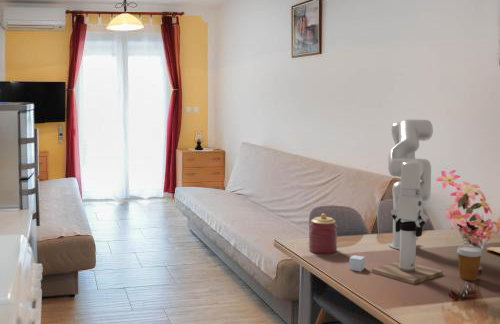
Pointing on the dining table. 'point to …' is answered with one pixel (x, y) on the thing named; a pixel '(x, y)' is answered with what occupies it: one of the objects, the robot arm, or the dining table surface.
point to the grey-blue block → (356, 263)
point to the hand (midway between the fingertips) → (408, 233)
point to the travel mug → (407, 246)
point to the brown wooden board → (407, 273)
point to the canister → (323, 235)
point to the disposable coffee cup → (469, 262)
